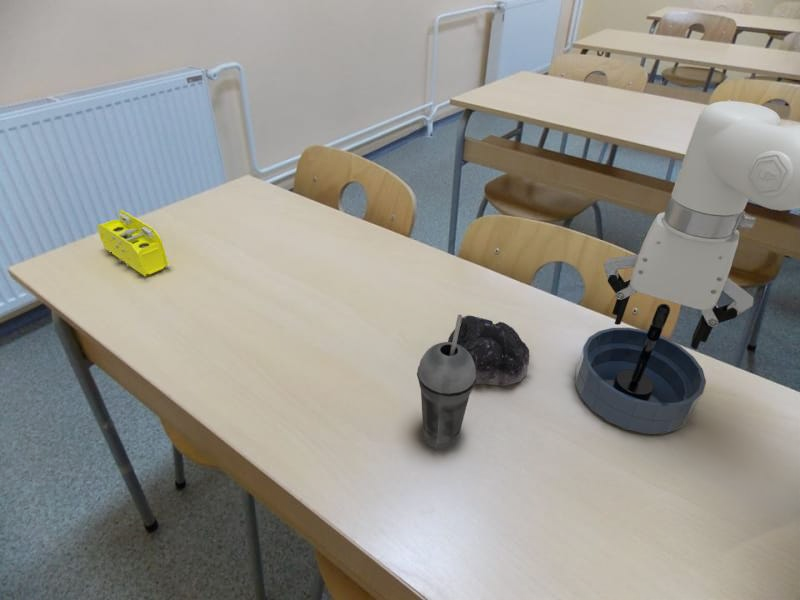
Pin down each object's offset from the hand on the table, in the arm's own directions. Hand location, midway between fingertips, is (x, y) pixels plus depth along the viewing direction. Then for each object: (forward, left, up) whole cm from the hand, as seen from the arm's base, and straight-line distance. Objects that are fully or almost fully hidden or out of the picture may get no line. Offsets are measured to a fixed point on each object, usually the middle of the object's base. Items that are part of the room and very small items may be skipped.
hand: (655, 330), depth 70 cm
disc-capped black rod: (0, 0, -11) cm, 11 cm away
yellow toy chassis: (+63, +70, -12) cm, 95 cm away
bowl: (0, 0, -12) cm, 12 cm away
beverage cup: (+2, +30, -12) cm, 32 cm away
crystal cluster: (+13, +17, -12) cm, 25 cm away
